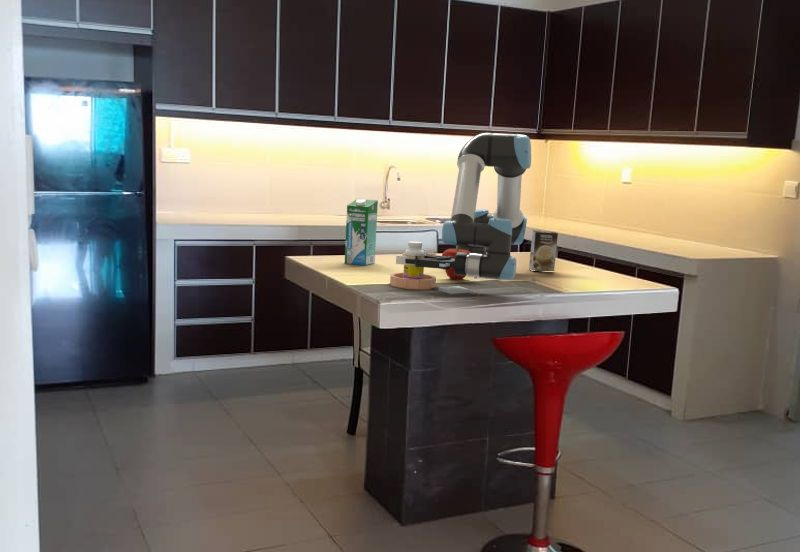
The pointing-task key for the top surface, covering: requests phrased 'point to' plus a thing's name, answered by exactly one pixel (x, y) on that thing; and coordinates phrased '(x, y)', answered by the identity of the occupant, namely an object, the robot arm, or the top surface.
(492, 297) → the top surface
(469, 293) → the mat
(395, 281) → the bowl
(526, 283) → the top surface
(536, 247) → the coffee box
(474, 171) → the robot arm
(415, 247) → the supplement bottle
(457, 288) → the light grey flat block
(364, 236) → the milk carton
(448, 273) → the apple
